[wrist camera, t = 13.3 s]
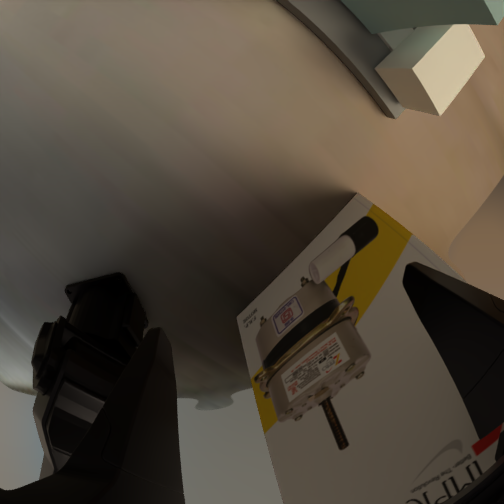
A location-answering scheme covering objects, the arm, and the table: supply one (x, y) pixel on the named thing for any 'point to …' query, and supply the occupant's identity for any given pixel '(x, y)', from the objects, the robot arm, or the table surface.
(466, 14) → the panel
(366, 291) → the packaging box
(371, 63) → the rail board
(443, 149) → the table surface
